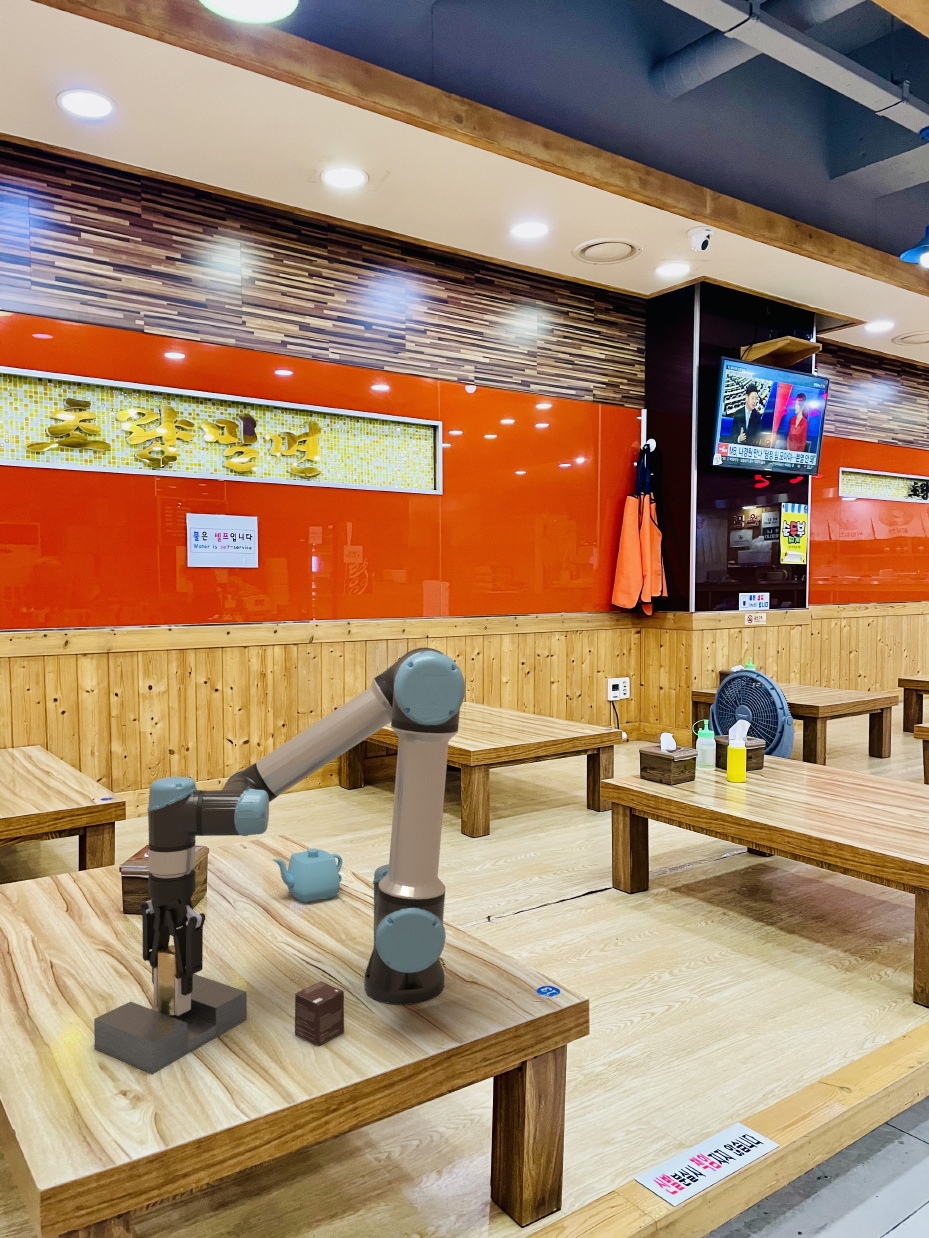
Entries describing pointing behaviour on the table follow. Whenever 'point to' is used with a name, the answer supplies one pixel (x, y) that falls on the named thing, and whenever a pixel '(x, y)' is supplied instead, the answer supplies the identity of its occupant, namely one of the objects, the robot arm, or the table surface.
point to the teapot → (312, 875)
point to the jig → (169, 1026)
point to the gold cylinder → (167, 980)
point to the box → (319, 1013)
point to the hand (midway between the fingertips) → (172, 1007)
